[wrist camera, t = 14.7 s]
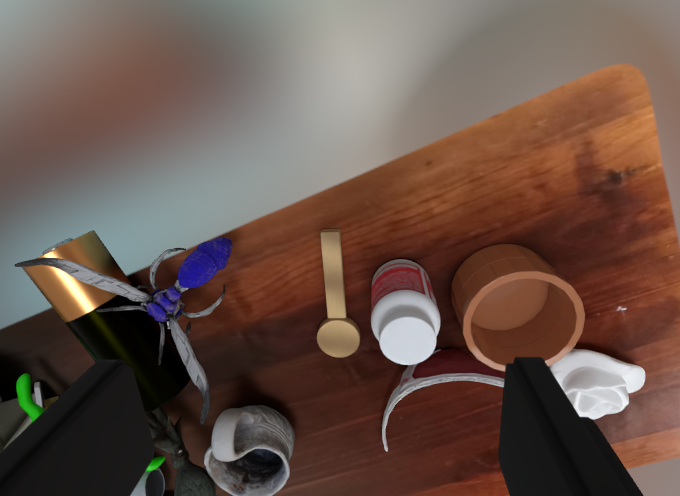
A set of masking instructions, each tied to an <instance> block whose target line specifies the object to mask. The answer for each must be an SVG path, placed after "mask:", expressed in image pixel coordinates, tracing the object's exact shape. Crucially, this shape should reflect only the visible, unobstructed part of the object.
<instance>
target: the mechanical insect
mask: <svg viewBox="0 0 680 496" xmlns="http://www.w3.org/2000/svg"><path fill="white" fill-rule="evenodd" d="M232 247H233V246H232V241H231V240H230V239H228V238H224V237H220V238H216V239H214V240H212V241H207V242H204V243H202V244H200V245H198V247H197V250H194V251H193V252H192V253H191V254H190V255H189V256H188V257H187V258H186V259H185V261H184V262H183V264H182V265H181V267H180V268H179V273H178V280H177V281H176V284H175V286H174V287H173V286H171V287H170V288H169V289H168V290H167V289H165V291H160V290H161V289H160V290H159V289H158V287H157V286H156V285H155V277H154V275H155V273H156V271H157V268H158V266H159V264H160V262H161V261H162V259H163V258H164V256H165V255H166V254H167V253H170V252H172V251H178V250H186V249H184V248H174V249H169V250H166V251H164V252H163V253H162V254H161V255H160V256H159V258H158V259H156V260H154V262H153V263H152V267H151V269H150V281H151V284H152V287H153V289H154V290H155V292H154V293H153V294H152V295H151V296H149V294H147V293H145V292H142V291H139V290H138V289H140V288H146V287H150V286H148V285H139V286H137V287H135V288H134V287H132V286H130V285H129V284H127V283H125V282H123V281H120V280H118V279H115V278H113V277H110V276H107V275H104V274H101V273H98V272H96V271H94V270H93V269H91V268H89V267H87V266H85V265H82V264H79V263H75V262H72V261H69V260H65V259H59V258H44V257H42V258H38V259H34V260H29V261H24V262H21V263H17V264H15V266H16V267H31V266H36V265H46V266H51V267H55V268H57V269H60V270H62V271H63V272H65V273H67V274H69V275H70V276H72V277H74V278H76V279H78V280H80V281H82V282H84V283H86V284H91V285H94V286H96V287H97V288H100V289H103V290H106V291H109V292H112V293H115V294H118V295H121V296H125V297H128V298H129V299H130V300H132V301H143V302H142V303H141V306H122V307H115V308H107V309H100V310H97V312H107V311H122V310H133V309H139V310H144V311H146V312H148V314H149V315H152V316H153V317H154V318H155V320H156V321H159V324H160V328H161V339H160V348H159V364H158V365H160V364H161V358H162V355H163V346H164V341H165V333H164V324H163V323H162V322H163V321H167V326H168V328H167V329H171V333H172V336H173V339H174V342H175V344H176V347H177V349H178V351H179V354H180V356H181V358H182V361H183V363H184V364H185V366H186V368H187V371H188V373H189V375H190V377H191V379H192V380H193V382H194V384H195V385H197V387H198V388H199V390H200V391H201V394H202V396H203V401H204V402H203V406H202V411H201V424H202V425H203V424H204V422H205V420H206V417H207V414H208V411H209V408H210V390H209V385H208V381H207V378H206V375H205V372H204V369H203V368H202V366H201V365H200V363H199V362H198V360H197V359H196V357H195V354H194V352H193V349H192V347H191V345H190V342H189V340H188V338H187V333H188V332H189V333H190V328H191V325H190V322H188V325H187V330H186V331H185V333H183V331H182V330H181V328H180V326H179V323H178V322H177V321H178V319H179V318H180V316H181V314H183V315H185V316H188V317H190V318H196V317H201V316H205V315H209V314H210V313H211V312H212V311H213V309H214V308H216V307H217V306H218V305H219V304H220V302H221V301H222V299H223V296H224V294H225V285H223V292H222V293H221V297H219V298H218V301H217V302H216V303H215V304H213V305H211V306H210V307H208V308H207V309H205V310H203V311H200V312H198V313H186V312H184V311H183V307H184V305H185V304H184V303H183V305H182V307H181V309H180V305H181V304H182V303H181V300H180V297H181V293H182V292H183V291H185V290H187V289H188V288H194V287H198V286H201V285H203V284H205V283H206V282H208V281H209V280H210V279H212V278H213V277H214V276H215V274H216V273H217V271H218V270H221V269H224V268H225V266H226V264H227V258H229V257H230V254H231V250H232ZM157 292H158V293H157ZM156 293H157V294H156ZM150 302H151V303H150ZM142 305H145V306H147V308H145V307H142ZM178 310H179V312H178V313H177V311H178ZM176 313H177V314H176ZM175 314H176V315H175ZM174 315H175V316H174ZM177 315H179V316H178V317H177V319H176V318H175V317H176V316H177Z"/></svg>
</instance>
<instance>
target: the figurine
mask: <svg viewBox="0 0 680 496" xmlns="http://www.w3.org/2000/svg"><path fill="white" fill-rule="evenodd" d="M153 412H154V413H155V415H154V414H153V413H152V412H149V413H146V417H147V420H148V424H149V427H150V431H151V434H152V438H153V441H154V445H155V447H157V448H160V449H162V450H164V451H166V452H168V453H169V454H171V456H172V458H173V466H174V468H176V469H177V475H176V481H175V491H174V496H216V487H215V483H214V481H213V479H212V478H211V477H210V476H209V474H208V473H207V471H206V470H205V469H204V468H202V467H200V466H197V465H194V464H193V463H192V462H191V461H190V460H189V453H188V451H187V450H186V448H185V446H184V443H183V440H182V437H181V432H180V421H181V419H182V416H181V417H180V418H179V420H178V421H177V423H176V425H175V426H174V425H173V423H172V422H171V420H170V415H168V416H167V414H166V412H165V411H164V409H163V407H162V406H161V407H159V408H158V409H156V410H154V411H153Z"/></svg>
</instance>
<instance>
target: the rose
mask: <svg viewBox="0 0 680 496" xmlns="http://www.w3.org/2000/svg"><path fill="white" fill-rule="evenodd" d="M550 370H551V372H552V373H553V375H554V377H555V378H556V380H557V381H558V383H559V385H560V386H561V388H562V389H563V391H564V392H565V394H566V396H567V397H568V399H569V400H570V402H571V404H572V405H573V407H574V408H575V410H576V412H577V413H578V415H579V416H580V417H589V418H590V419H597V418H600V417H602V416H604V415H605V414H613V413H617V412H620V411H622V410H623V409H624V408H625V407H626V405H628V404H629V397H628V393H632V392H635V391H637V390H639V389H640V388H641V387H642V386H643V384H644V382H645V371H644V369H643V368H641V367H640V366H637V365H633V364H629V363H625V362H622V361H620V360H617V359H615V358H612V357H610V356H608V355H605V354H601V353H598V352H594V351H591V350H583V349H572V350H571V351H570V352H569V353H568V354H567V355H566V356H565V357H563V358H562V359H561V360H559V361H558V362H556V363H554V364H552V365H551V366H550Z"/></svg>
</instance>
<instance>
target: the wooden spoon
mask: <svg viewBox="0 0 680 496" xmlns="http://www.w3.org/2000/svg"><path fill="white" fill-rule="evenodd" d="M320 235H321V247H322V258H323V269H324V280H325V291H326V302H327V314H328V318H326V319H325V320H324V321H323V322H322V323H321V324H320V326H319V330H318V334H317V342H318V345H319V346H320V348H321V349H322V350H323V351H324V352H325V353H326V354H328V355H330V356H333V357H346V356H349V355H351V354H352V353H354V352H355V351H356V350H357V348H358V346H359V343H360V329H359V327H358V325H357V324H356V323H355V322H354V321H353V320H352V319H351V318H349V317H346V300H345V286H344V272H343V258H342V244H341V230H340V229H322V230H321V232H320Z"/></svg>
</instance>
